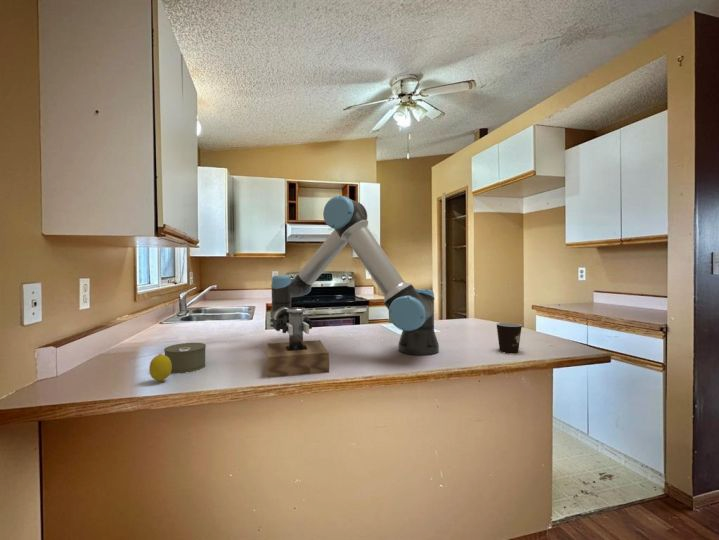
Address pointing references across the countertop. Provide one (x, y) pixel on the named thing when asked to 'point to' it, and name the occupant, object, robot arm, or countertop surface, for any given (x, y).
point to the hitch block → (297, 359)
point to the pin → (296, 328)
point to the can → (186, 357)
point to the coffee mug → (509, 337)
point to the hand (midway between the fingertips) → (299, 330)
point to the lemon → (160, 367)
